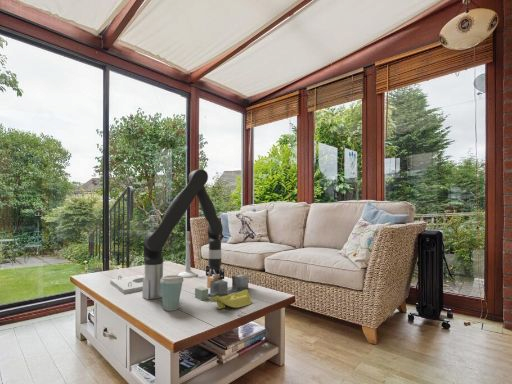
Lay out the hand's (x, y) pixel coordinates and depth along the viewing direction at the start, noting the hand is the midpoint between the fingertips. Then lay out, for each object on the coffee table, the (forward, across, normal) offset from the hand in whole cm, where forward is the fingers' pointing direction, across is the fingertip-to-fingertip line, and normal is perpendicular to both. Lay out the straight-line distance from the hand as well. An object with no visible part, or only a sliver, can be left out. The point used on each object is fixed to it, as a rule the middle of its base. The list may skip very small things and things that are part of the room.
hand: (214, 285), depth 172 cm
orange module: (+1, 0, 0) cm, 1 cm away
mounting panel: (+2, -37, -25) cm, 45 cm away
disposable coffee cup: (+1, +12, -36) cm, 38 cm away
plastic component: (+1, +29, -15) cm, 32 cm away
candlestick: (+1, -34, +5) cm, 34 cm away
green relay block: (+1, +10, -17) cm, 20 cm away
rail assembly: (+1, +13, -1) cm, 13 cm away
